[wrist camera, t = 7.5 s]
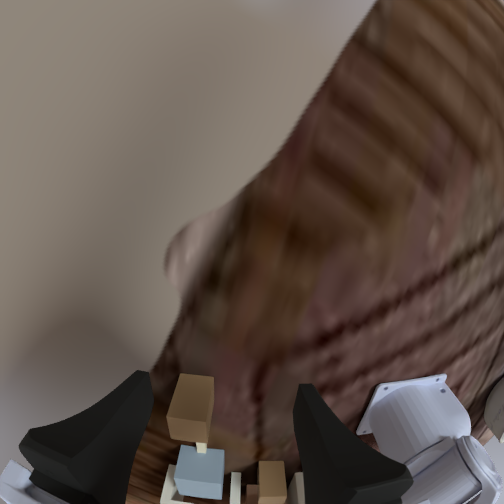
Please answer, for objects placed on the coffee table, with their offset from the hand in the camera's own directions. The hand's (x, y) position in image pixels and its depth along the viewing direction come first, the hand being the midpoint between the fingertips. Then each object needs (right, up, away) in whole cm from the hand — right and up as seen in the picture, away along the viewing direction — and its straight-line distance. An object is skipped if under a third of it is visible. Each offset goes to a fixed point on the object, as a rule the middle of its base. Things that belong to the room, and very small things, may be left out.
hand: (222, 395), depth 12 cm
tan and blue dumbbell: (-4, -12, +13) cm, 18 cm away
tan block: (+3, -24, +16) cm, 30 cm away
